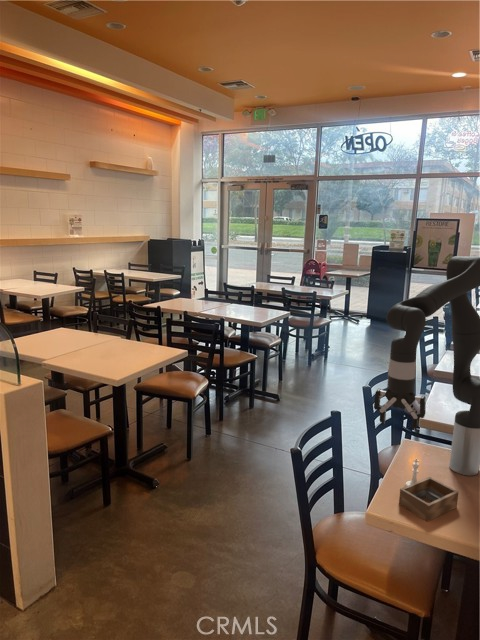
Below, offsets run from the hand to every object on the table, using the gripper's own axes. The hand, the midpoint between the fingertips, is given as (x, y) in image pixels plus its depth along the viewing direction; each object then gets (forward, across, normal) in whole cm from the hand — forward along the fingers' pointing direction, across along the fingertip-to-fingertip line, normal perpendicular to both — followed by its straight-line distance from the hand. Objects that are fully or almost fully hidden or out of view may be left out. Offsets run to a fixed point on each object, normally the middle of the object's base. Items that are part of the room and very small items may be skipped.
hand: (398, 426), depth 137 cm
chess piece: (+25, -4, -12) cm, 28 cm away
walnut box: (+25, -10, -3) cm, 27 cm away
